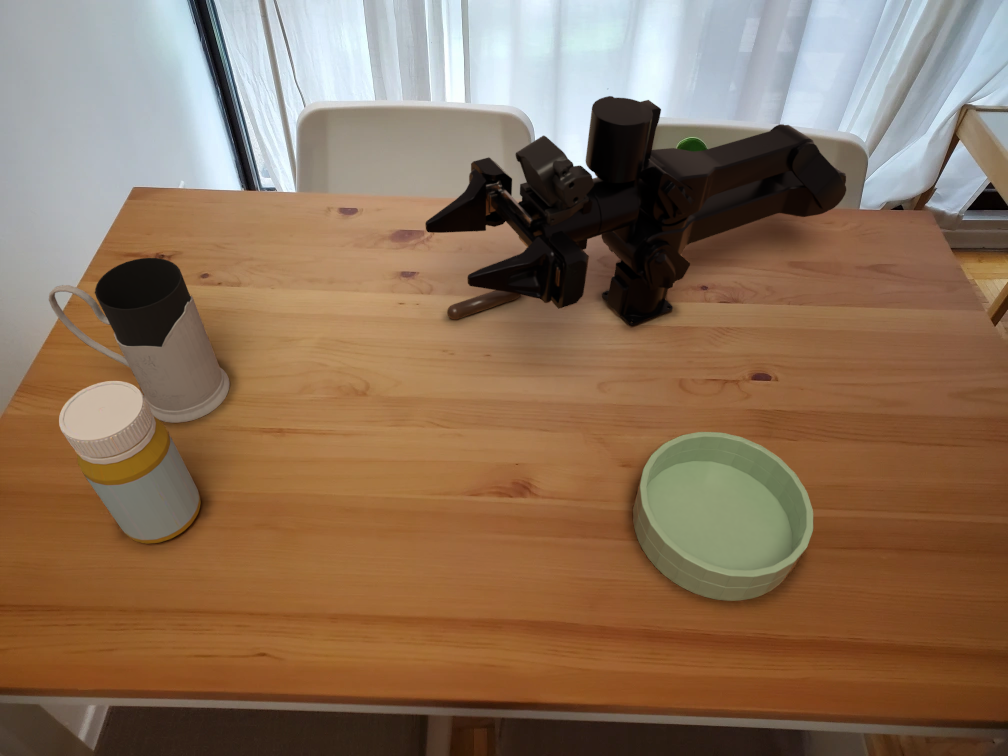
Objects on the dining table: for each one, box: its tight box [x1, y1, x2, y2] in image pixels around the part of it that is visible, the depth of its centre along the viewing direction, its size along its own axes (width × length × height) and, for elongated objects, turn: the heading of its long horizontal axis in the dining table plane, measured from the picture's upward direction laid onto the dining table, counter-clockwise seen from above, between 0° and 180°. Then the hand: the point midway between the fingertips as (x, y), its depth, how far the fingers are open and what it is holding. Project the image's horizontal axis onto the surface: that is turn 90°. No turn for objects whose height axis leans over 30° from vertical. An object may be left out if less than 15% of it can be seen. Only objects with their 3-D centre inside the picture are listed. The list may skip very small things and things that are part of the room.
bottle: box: [58, 380, 202, 544], centre depth 61 cm, size 7×7×15 cm
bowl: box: [632, 431, 814, 602], centre depth 66 cm, size 15×15×4 cm
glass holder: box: [48, 257, 231, 424], centre depth 72 cm, size 9×14×15 cm, turn 85°
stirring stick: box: [446, 290, 521, 320], centre depth 87 cm, size 10×2×2 cm, turn 119°
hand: (446, 252), depth 68 cm, fingers open, 9 cm apart
